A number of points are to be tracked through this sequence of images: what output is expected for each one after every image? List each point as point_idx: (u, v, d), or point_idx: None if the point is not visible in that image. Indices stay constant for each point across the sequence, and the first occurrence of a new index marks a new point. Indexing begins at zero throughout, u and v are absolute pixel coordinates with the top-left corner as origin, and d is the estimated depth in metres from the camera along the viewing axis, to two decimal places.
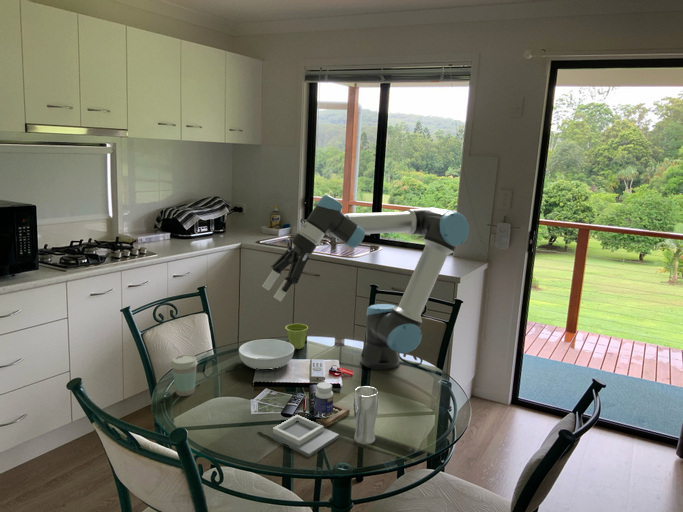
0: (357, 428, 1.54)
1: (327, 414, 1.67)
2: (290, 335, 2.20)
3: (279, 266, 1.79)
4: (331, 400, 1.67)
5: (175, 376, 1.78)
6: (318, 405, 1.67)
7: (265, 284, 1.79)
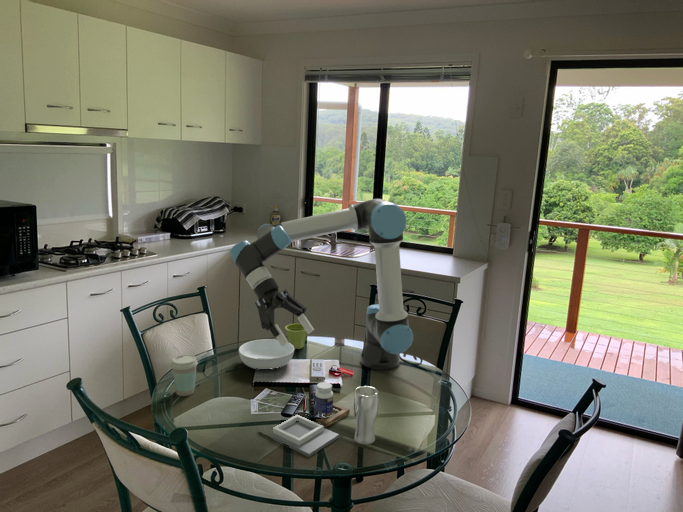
0: (357, 428, 1.54)
1: (327, 414, 1.67)
2: (290, 335, 2.20)
3: (293, 312, 1.78)
4: (331, 400, 1.67)
5: (175, 376, 1.78)
6: (319, 405, 1.67)
7: (306, 330, 1.77)
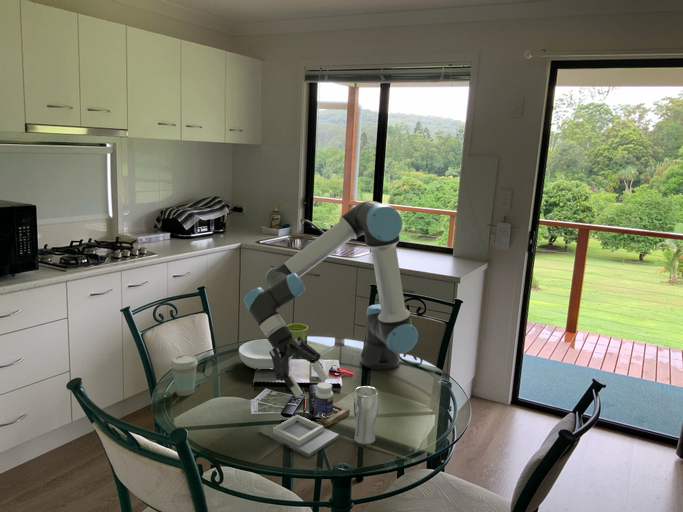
0: (357, 428, 1.54)
1: (327, 414, 1.67)
2: None
3: (307, 359, 1.76)
4: (331, 400, 1.67)
5: (175, 376, 1.78)
6: (318, 405, 1.67)
7: (321, 378, 1.75)
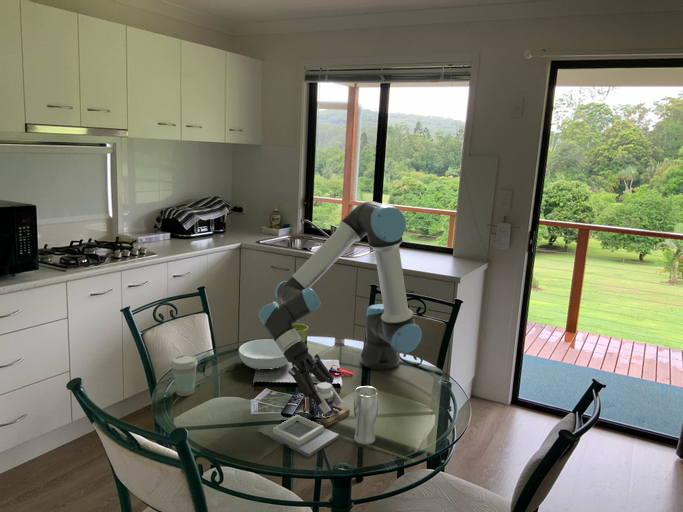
0: (357, 428, 1.54)
1: (327, 414, 1.67)
2: None
3: (320, 380, 1.72)
4: (331, 400, 1.67)
5: (175, 376, 1.78)
6: (318, 405, 1.67)
7: (334, 402, 1.70)
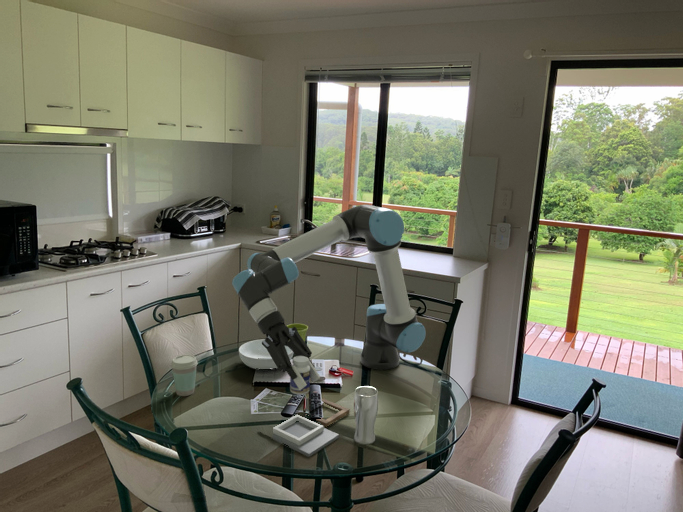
0: (357, 428, 1.54)
1: (303, 390, 1.54)
2: None
3: (297, 354, 1.59)
4: (307, 375, 1.54)
5: (175, 376, 1.78)
6: None
7: (312, 378, 1.57)
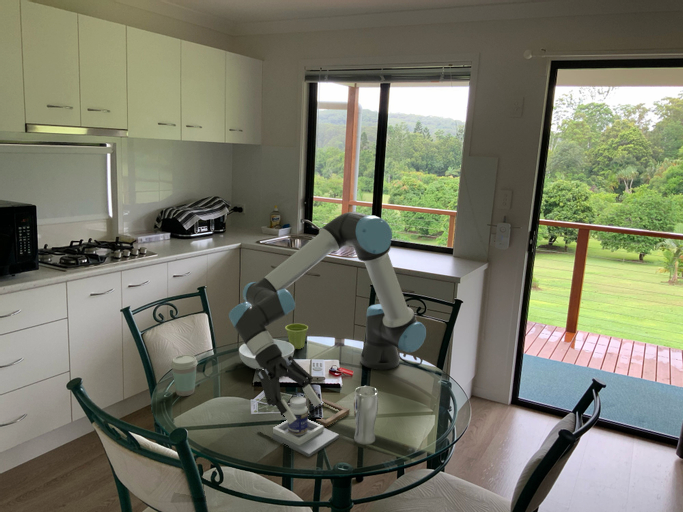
0: (357, 428, 1.54)
1: (301, 431, 1.55)
2: (290, 335, 2.20)
3: (298, 381, 1.61)
4: (305, 416, 1.55)
5: (175, 376, 1.78)
6: (292, 422, 1.54)
7: (313, 403, 1.60)
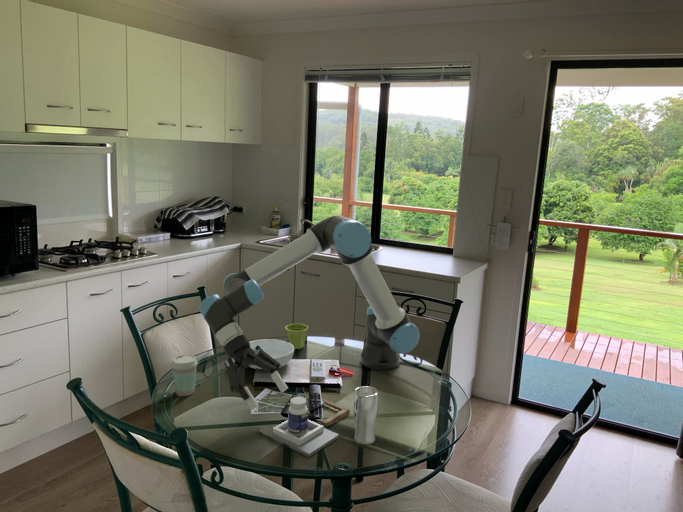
0: (357, 428, 1.54)
1: (301, 431, 1.55)
2: (290, 335, 2.20)
3: (266, 369, 1.69)
4: (305, 416, 1.55)
5: (175, 376, 1.78)
6: (292, 422, 1.54)
7: (280, 389, 1.68)
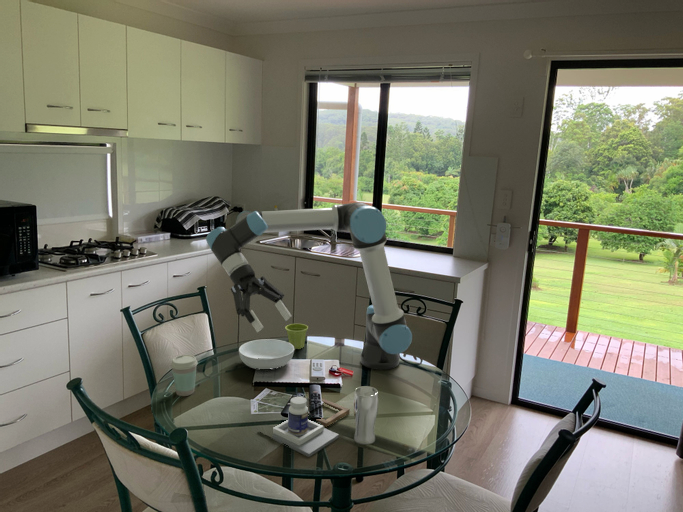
0: (357, 428, 1.54)
1: (301, 431, 1.55)
2: (290, 335, 2.20)
3: (270, 298, 1.76)
4: (306, 416, 1.55)
5: (175, 376, 1.78)
6: (292, 422, 1.54)
7: (284, 317, 1.75)
